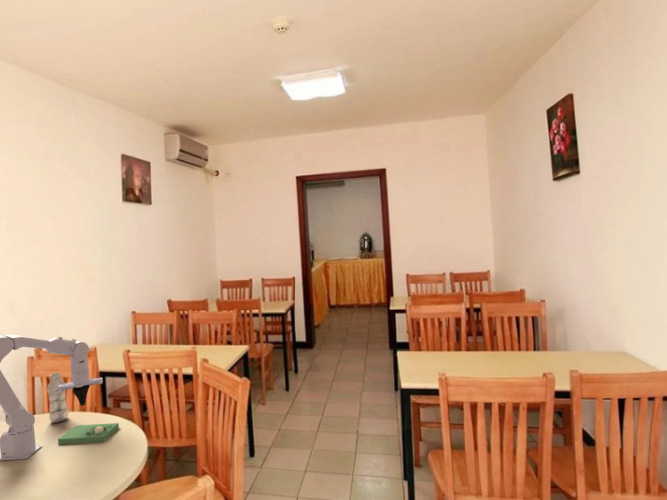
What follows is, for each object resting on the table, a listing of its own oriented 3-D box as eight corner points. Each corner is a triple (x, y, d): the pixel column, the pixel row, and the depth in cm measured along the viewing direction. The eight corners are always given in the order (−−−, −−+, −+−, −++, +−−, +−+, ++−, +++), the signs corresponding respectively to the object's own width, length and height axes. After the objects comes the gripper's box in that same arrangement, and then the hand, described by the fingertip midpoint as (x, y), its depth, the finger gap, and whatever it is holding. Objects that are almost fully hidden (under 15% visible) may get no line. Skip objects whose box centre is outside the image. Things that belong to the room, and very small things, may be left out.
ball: (102, 430, 147) (99, 438, 147) (106, 425, 150) (104, 433, 150) (93, 427, 147) (91, 435, 147) (98, 423, 150) (95, 431, 150)
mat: (58, 444, 143) (57, 439, 143) (76, 430, 153) (75, 425, 153) (104, 441, 143) (103, 436, 143) (118, 427, 153) (118, 423, 153)
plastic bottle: (55, 417, 165) (51, 372, 164) (72, 416, 166) (68, 370, 165) (46, 425, 159) (41, 378, 158) (63, 423, 159) (59, 376, 158)
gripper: (55, 378, 146) (58, 412, 147) (99, 370, 152) (102, 404, 153) (60, 372, 153) (63, 405, 154) (102, 365, 159) (105, 397, 159)
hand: (83, 404), depth 154 cm, fingers closed
